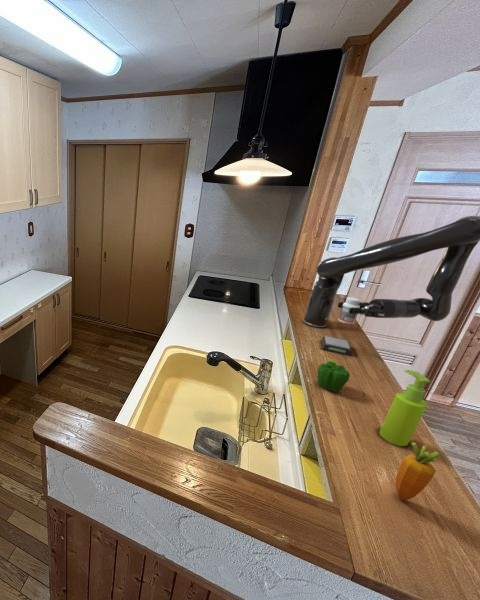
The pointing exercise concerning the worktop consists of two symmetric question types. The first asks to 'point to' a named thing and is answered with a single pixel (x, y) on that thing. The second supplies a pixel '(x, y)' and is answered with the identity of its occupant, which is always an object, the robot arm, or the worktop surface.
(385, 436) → the soap dispenser
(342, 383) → the bell pepper
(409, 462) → the carrot
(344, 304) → the pill bottle
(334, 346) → the scale
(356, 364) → the worktop surface
